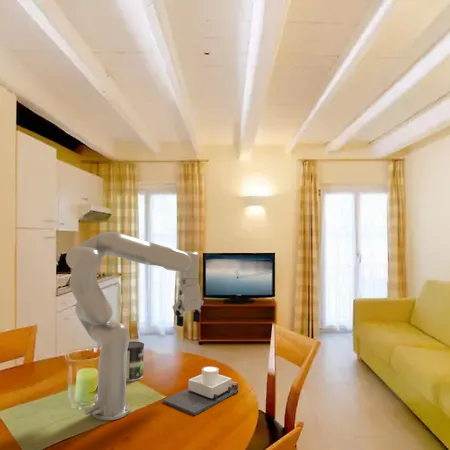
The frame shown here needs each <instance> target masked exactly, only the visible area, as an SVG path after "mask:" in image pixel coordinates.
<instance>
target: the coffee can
mask: <svg viewBox="0 0 450 450" xmlns="http://www.w3.org/2000/svg"><path fill="white" fill-rule="evenodd" d="M144 347H145V343H144V342H141V341H129V345H128V350H127V363H126V382H135V381H139V380H141V379H143V377H144V358H145V357H144V356H145V355H144V354H145V352H144V351H145V350H144Z"/></svg>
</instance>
